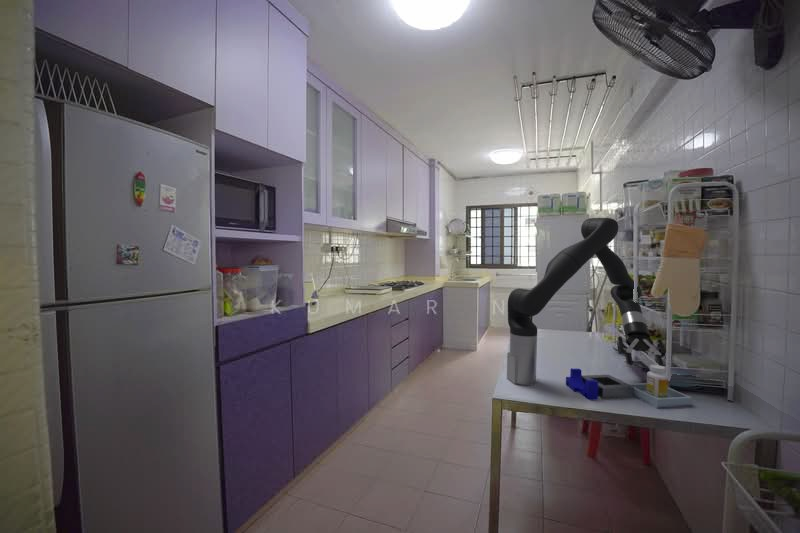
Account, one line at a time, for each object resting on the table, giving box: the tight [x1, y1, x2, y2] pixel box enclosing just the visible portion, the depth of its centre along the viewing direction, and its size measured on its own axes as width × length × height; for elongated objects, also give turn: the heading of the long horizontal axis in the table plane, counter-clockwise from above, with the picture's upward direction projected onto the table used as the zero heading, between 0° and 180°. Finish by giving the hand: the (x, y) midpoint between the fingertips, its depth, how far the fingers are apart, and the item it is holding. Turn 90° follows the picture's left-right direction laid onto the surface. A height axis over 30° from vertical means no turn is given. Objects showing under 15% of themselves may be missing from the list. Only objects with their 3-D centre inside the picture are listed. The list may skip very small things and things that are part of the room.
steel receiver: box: [582, 374, 635, 400], centre depth 113 cm, size 11×11×4 cm
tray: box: [628, 382, 693, 409], centre depth 108 cm, size 12×12×3 cm
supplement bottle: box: [646, 364, 669, 398], centre depth 108 cm, size 5×5×10 cm
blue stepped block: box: [565, 368, 599, 401], centre depth 113 cm, size 12×4×6 cm, turn 178°
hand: (645, 365), depth 118 cm, fingers open, 8 cm apart
